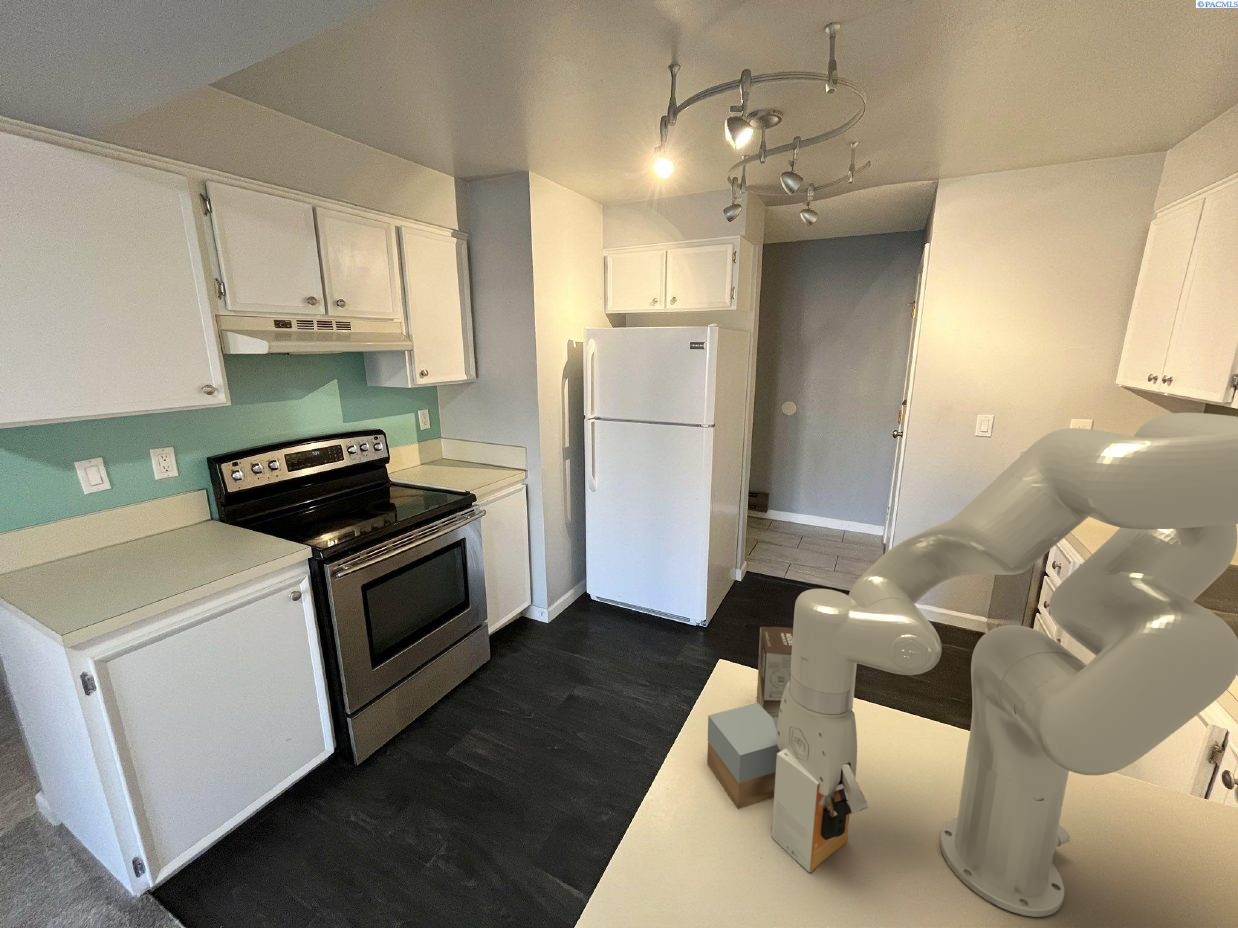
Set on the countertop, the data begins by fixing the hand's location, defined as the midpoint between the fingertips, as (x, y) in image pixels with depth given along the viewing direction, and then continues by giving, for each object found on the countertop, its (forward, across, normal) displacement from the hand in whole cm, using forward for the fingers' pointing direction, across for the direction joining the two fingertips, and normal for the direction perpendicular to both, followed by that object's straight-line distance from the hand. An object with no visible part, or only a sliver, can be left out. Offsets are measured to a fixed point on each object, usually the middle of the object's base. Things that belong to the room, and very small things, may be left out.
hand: (811, 808), depth 68 cm
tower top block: (+1, -12, -2) cm, 12 cm away
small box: (+5, 0, 0) cm, 5 cm away
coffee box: (+5, -21, +10) cm, 24 cm away
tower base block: (+5, -12, -2) cm, 13 cm away
